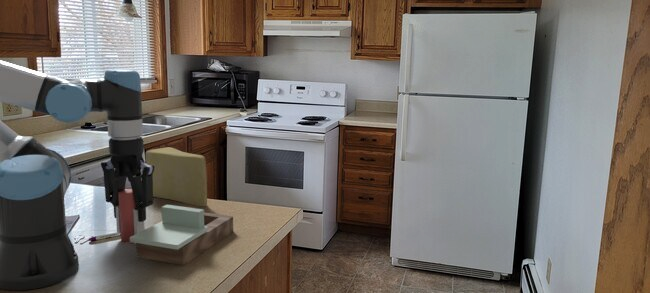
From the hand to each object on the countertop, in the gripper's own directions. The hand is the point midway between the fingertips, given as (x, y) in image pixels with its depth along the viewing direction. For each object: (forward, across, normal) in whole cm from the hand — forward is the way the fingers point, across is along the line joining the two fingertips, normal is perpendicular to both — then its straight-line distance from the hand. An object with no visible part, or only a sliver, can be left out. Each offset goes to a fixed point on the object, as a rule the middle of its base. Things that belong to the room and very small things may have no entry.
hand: (130, 232), depth 119 cm
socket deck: (+2, -14, -3) cm, 14 cm away
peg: (+2, 0, 0) cm, 2 cm away
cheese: (+2, +8, -33) cm, 34 cm away
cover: (-2, -14, +4) cm, 15 cm away
